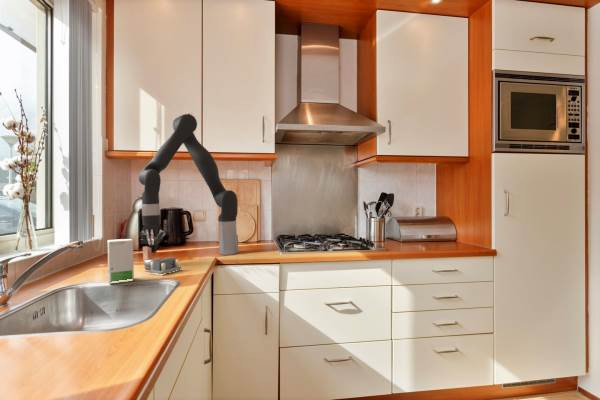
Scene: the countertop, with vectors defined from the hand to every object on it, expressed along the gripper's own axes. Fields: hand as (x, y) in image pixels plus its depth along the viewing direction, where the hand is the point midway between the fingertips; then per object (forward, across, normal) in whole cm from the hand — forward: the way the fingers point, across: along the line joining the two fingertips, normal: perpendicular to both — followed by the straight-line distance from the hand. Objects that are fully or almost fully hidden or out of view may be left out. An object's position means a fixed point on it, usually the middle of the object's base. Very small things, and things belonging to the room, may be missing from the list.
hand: (153, 252), depth 154 cm
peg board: (+6, -13, +11) cm, 18 cm away
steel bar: (+5, -13, +11) cm, 18 cm away
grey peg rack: (+4, -1, +5) cm, 6 cm away
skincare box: (+6, -5, +26) cm, 27 cm away
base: (+6, -4, +7) cm, 10 cm away
